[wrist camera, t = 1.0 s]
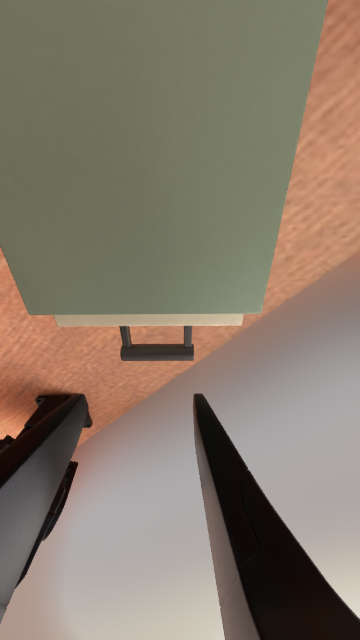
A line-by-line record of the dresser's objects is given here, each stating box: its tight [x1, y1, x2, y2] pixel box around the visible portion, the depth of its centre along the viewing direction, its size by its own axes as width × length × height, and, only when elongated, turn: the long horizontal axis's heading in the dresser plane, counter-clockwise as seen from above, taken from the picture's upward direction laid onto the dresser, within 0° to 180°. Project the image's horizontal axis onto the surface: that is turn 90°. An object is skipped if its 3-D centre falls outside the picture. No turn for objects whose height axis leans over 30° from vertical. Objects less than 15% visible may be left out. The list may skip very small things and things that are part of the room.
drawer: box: [54, 314, 243, 361], centre depth 12 cm, size 18×11×7 cm, turn 0°
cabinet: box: [0, 0, 328, 315], centre depth 11 cm, size 15×13×9 cm
